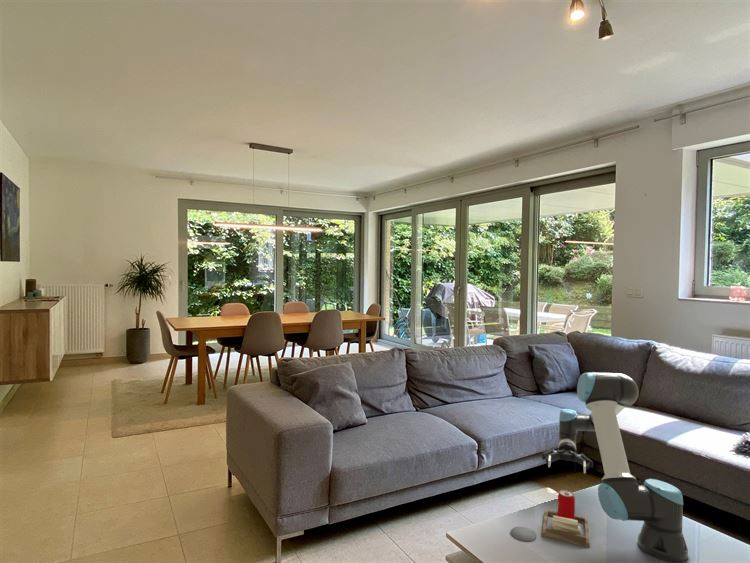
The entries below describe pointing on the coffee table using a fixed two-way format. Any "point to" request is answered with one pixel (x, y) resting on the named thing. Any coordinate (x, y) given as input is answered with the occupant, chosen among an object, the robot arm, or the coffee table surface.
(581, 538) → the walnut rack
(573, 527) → the plywood offcut stack
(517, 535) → the slate pad
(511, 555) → the coffee table surface
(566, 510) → the beverage can
